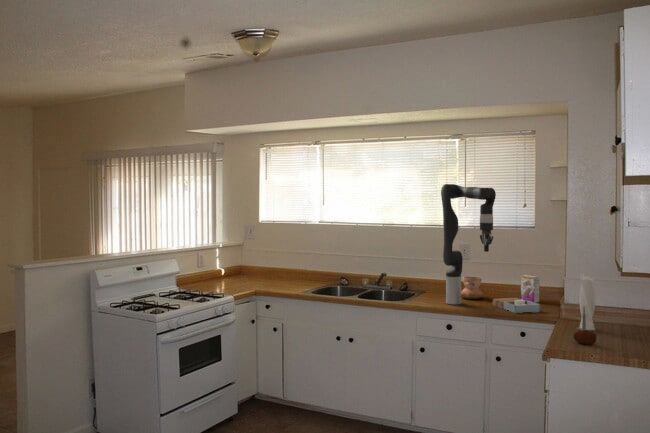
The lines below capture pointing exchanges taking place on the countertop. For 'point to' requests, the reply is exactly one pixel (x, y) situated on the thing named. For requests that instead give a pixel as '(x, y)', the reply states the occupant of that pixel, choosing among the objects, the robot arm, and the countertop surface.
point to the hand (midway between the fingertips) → (486, 251)
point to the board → (500, 301)
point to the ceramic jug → (471, 287)
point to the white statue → (587, 303)
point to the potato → (585, 337)
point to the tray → (522, 307)
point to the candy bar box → (530, 288)
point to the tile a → (519, 302)
